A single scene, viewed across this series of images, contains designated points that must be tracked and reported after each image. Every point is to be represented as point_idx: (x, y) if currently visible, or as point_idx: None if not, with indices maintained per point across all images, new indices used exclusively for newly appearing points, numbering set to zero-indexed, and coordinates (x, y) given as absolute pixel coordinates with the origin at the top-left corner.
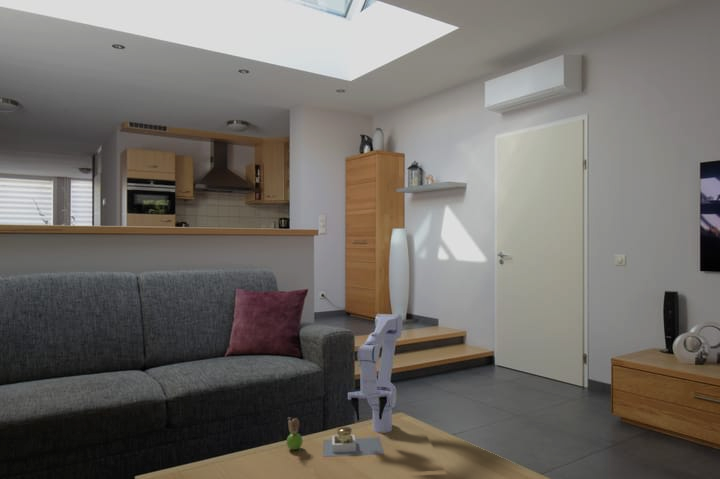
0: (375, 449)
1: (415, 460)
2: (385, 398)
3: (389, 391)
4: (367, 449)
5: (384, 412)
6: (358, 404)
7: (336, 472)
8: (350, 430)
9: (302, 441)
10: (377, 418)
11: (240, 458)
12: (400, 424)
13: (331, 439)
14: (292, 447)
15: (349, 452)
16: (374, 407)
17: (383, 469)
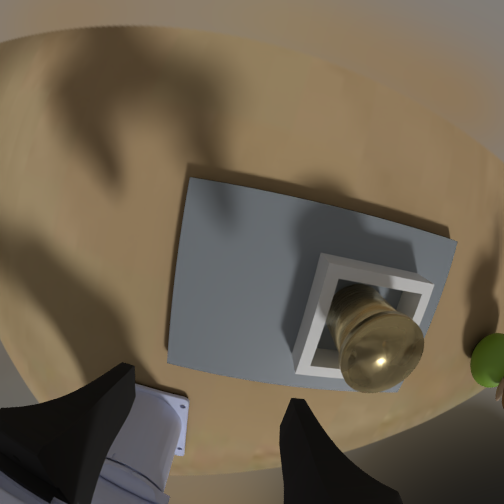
0: (217, 243)
1: (84, 118)
2: (7, 459)
3: None
4: (257, 255)
5: (109, 452)
6: (332, 495)
7: (430, 110)
8: (359, 336)
9: (479, 357)
10: (151, 445)
11: None
12: None
13: None
14: (501, 333)
15: (354, 248)
16: (152, 491)
17: (238, 60)
